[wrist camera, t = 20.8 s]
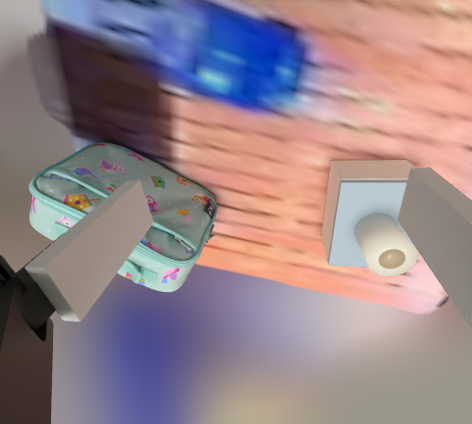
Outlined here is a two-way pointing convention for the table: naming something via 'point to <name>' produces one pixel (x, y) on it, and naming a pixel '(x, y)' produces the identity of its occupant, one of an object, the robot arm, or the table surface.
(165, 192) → the lunch box
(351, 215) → the lid
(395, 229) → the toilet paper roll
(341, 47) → the table surface
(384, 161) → the crate
